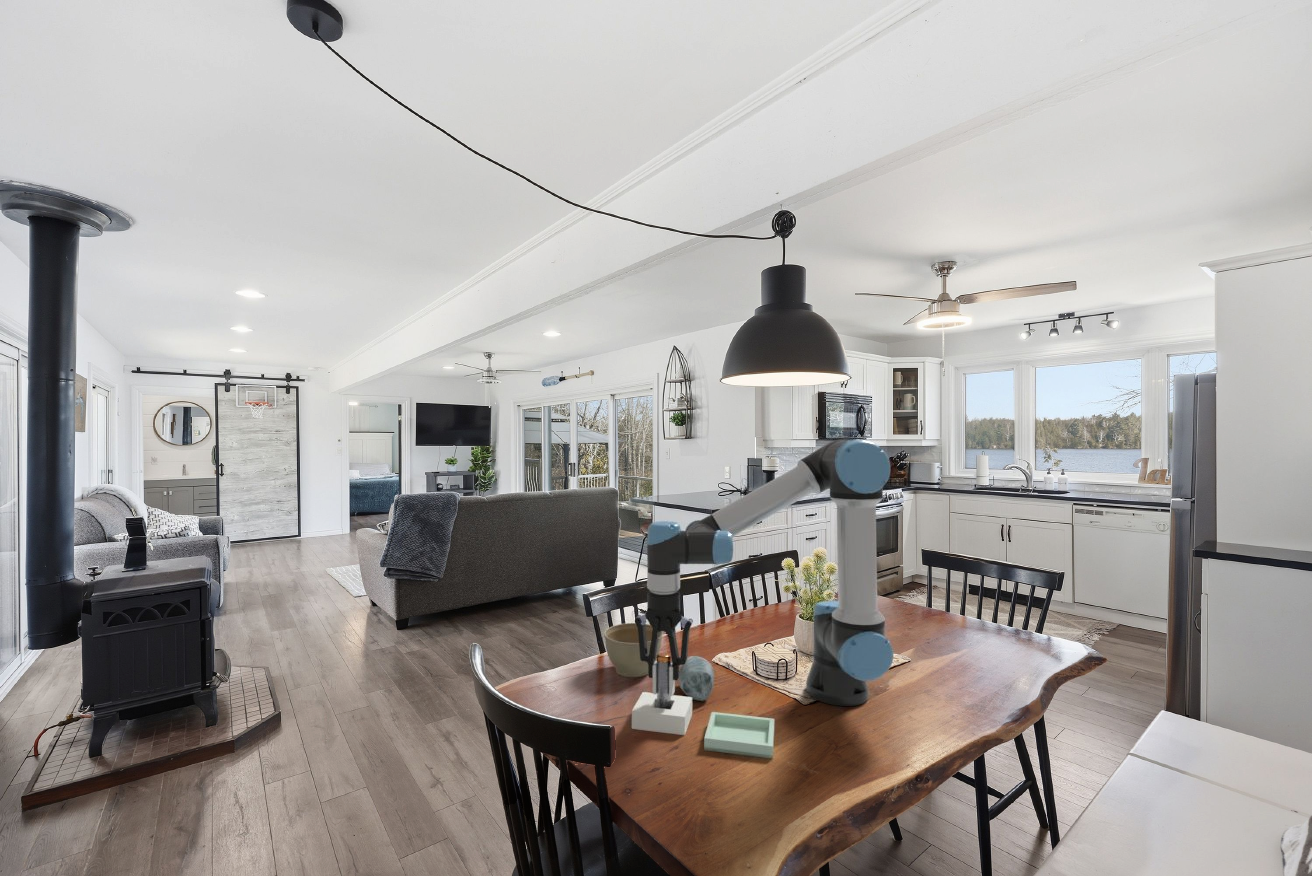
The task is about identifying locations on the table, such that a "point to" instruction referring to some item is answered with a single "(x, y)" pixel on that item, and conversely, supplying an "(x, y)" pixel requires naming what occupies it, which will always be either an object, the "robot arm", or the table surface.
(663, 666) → the pin
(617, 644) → the planter bowl
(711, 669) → the blue-grey stone
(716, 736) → the tray
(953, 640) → the table surface
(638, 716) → the socket block
